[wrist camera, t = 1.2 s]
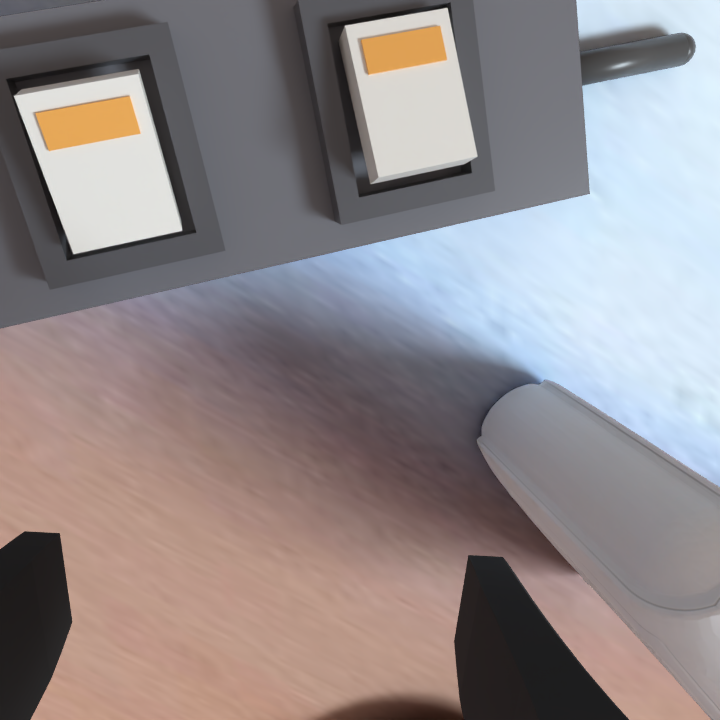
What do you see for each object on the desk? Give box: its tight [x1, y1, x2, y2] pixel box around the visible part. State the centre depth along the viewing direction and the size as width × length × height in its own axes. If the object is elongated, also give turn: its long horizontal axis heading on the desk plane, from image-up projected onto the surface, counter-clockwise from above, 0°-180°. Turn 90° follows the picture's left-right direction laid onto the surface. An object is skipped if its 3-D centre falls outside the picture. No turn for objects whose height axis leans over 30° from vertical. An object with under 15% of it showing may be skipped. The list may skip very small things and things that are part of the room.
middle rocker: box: [14, 69, 182, 254], centre depth 16 cm, size 3×4×1 cm
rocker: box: [338, 8, 478, 184], centre depth 17 cm, size 3×4×1 cm
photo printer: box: [477, 380, 720, 720], centre depth 21 cm, size 10×4×12 cm, turn 39°
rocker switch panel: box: [0, 0, 696, 328], centre depth 18 cm, size 32×7×4 cm, turn 100°
